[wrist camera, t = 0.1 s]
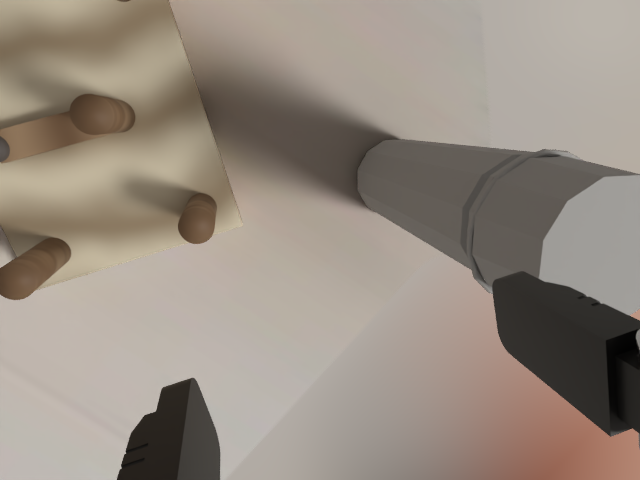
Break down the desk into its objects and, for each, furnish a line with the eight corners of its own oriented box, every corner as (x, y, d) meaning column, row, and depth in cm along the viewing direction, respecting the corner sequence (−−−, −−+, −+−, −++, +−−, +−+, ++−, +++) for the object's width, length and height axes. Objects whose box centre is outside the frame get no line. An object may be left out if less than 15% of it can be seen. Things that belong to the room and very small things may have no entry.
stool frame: (-97, 1, 31) (-220, -45, 22) (150, -54, 33) (123, -116, 24) (43, 282, 37) (-11, 329, 29) (241, 221, 39) (246, 248, 31)
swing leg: (-5, 167, 32) (-64, 178, 26) (-20, 135, 32) (-86, 138, 25) (140, 127, 34) (119, 128, 27) (128, 95, 33) (103, 88, 26)
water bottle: (334, 182, 40) (488, 267, 17) (394, 117, 40) (638, 111, 16) (400, 245, 43) (610, 394, 20) (456, 185, 43) (739, 264, 19)
